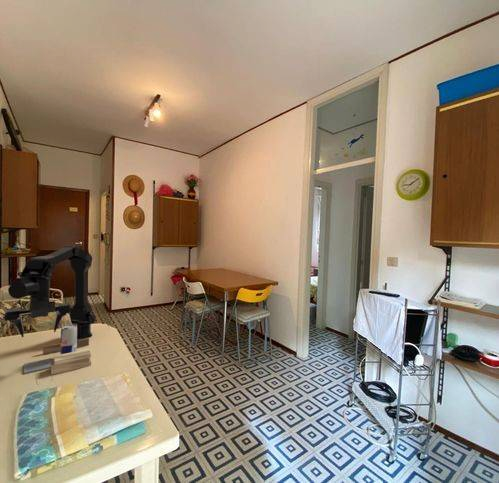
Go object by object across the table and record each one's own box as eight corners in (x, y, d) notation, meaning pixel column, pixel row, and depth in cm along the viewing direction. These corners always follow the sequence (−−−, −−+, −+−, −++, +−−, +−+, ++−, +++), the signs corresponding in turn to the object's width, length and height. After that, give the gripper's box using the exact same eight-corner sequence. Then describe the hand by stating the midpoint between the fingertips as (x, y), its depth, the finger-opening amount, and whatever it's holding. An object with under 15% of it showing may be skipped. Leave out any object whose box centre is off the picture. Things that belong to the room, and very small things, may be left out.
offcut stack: (50, 368, 97) (50, 356, 97) (88, 360, 105) (89, 348, 105) (51, 374, 93) (51, 362, 93) (90, 365, 101) (91, 353, 101)
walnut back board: (42, 353, 108) (42, 346, 108) (88, 344, 118) (88, 337, 118) (42, 354, 108) (43, 347, 107) (88, 345, 118) (88, 338, 117)
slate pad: (24, 364, 99) (24, 363, 99) (51, 359, 104) (51, 358, 104) (23, 374, 93) (23, 372, 93) (52, 367, 98) (52, 366, 98)
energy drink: (57, 357, 106) (58, 327, 105) (71, 352, 110) (72, 323, 110) (65, 361, 103) (65, 330, 103) (79, 355, 108) (80, 326, 108)
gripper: (3, 300, 86) (2, 348, 86) (72, 293, 97) (71, 336, 98) (6, 293, 94) (5, 336, 95) (69, 288, 106) (68, 327, 107)
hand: (39, 334), depth 98 cm, fingers open, 9 cm apart
